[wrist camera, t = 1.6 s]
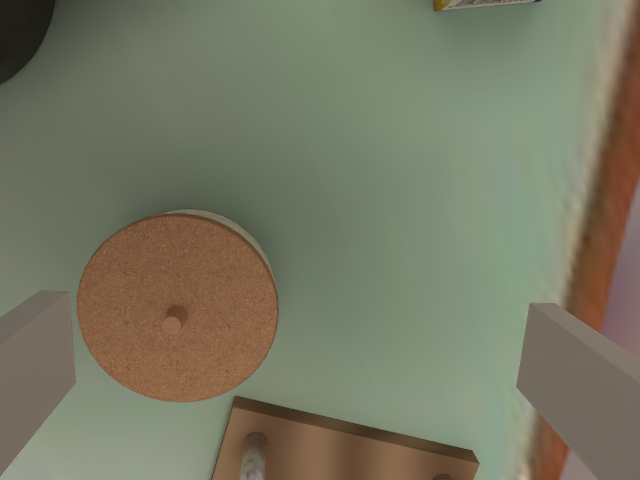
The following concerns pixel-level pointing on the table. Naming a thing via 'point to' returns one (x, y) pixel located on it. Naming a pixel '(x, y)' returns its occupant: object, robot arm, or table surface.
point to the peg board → (333, 449)
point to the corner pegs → (256, 458)
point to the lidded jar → (179, 305)
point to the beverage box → (473, 3)
